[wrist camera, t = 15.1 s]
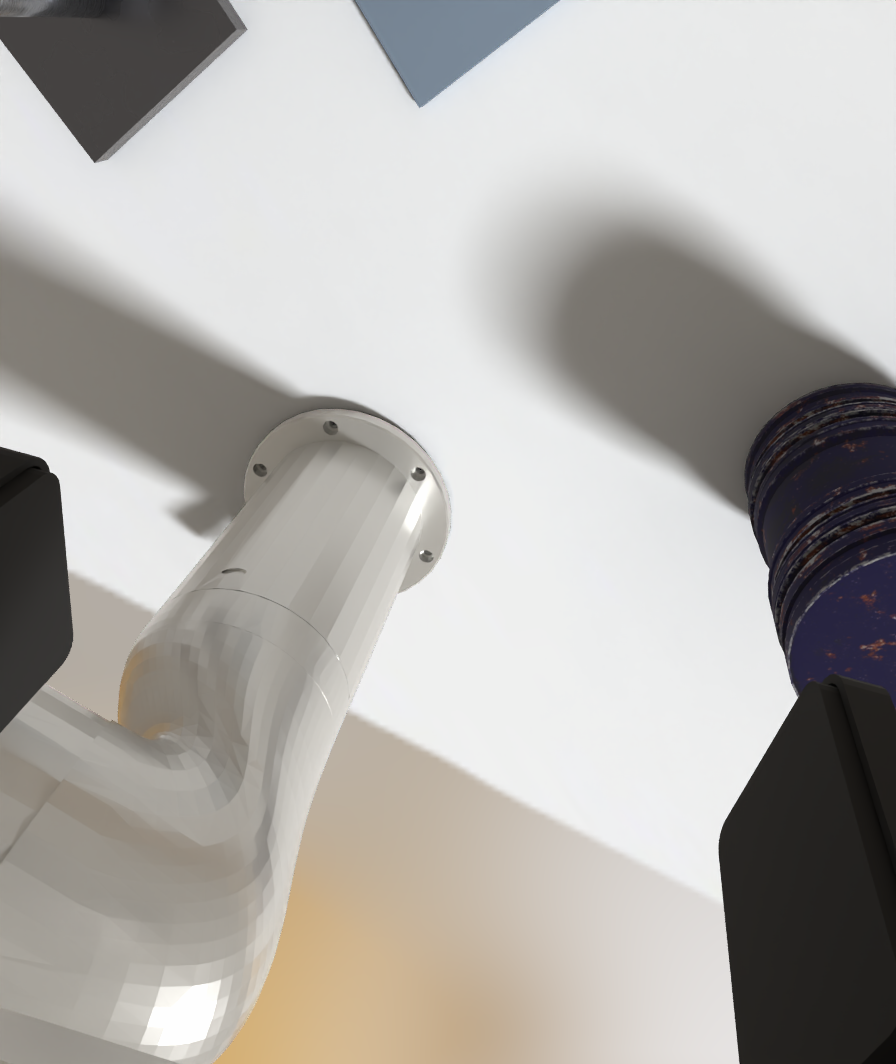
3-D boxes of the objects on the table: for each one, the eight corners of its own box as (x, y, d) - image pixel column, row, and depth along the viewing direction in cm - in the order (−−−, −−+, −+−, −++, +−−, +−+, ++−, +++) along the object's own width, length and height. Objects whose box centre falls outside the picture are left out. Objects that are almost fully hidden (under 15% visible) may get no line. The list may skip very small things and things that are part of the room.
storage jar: (730, 402, 42) (770, 562, 29) (948, 359, 39) (1097, 519, 26) (753, 563, 46) (797, 762, 34) (950, 537, 43) (1078, 745, 31)
